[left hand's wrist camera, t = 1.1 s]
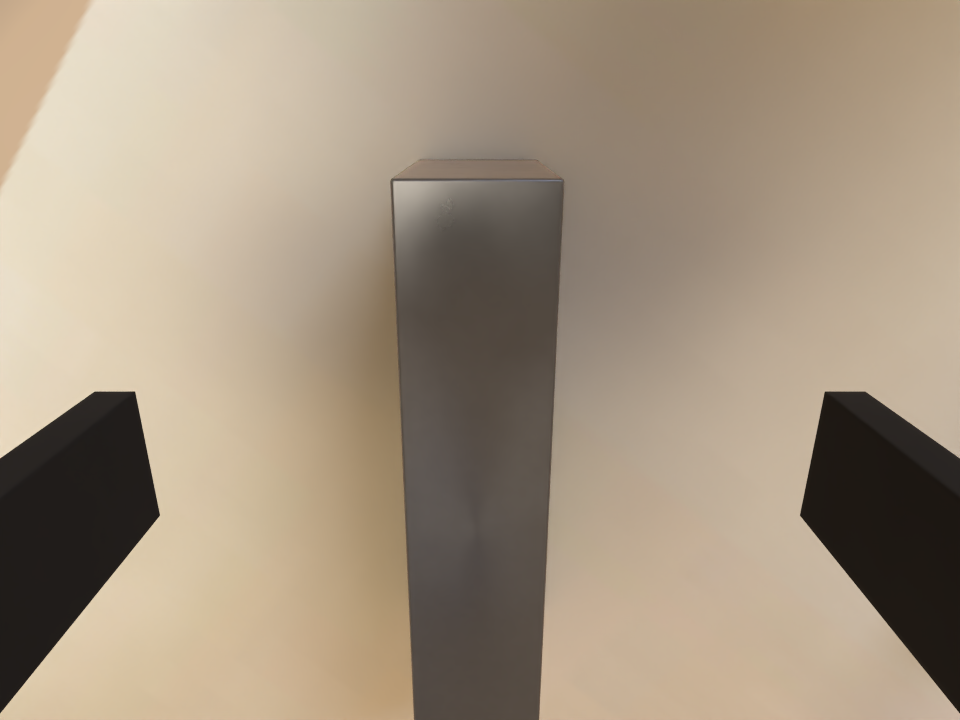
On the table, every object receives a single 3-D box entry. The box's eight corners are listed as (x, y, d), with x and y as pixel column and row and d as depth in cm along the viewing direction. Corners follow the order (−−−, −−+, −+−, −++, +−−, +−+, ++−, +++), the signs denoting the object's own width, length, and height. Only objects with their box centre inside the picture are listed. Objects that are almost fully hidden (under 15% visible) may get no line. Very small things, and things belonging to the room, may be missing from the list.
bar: (418, 159, 26) (390, 178, 18) (538, 159, 26) (564, 178, 18) (431, 612, 34) (415, 769, 26) (523, 612, 34) (536, 770, 26)
